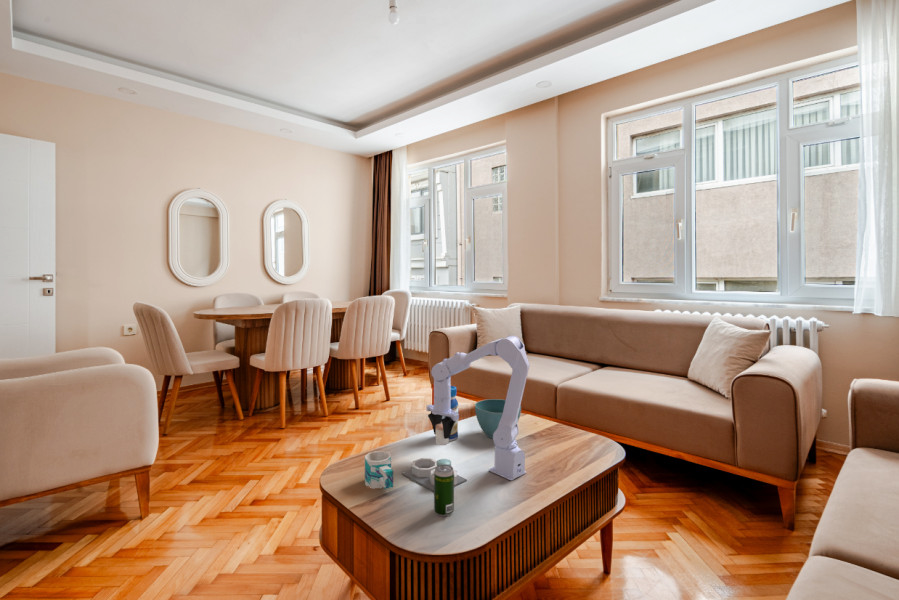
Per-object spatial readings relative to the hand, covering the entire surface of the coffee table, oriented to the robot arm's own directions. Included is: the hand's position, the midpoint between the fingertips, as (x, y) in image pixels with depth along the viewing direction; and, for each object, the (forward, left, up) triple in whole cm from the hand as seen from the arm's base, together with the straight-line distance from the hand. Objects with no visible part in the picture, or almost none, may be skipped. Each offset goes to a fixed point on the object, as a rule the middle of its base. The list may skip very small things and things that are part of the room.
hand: (442, 435), depth 148 cm
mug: (-1, +26, -9) cm, 27 cm away
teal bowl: (+1, -31, -9) cm, 32 cm away
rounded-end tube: (0, 0, -2) cm, 2 cm away
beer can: (-25, +22, -9) cm, 34 cm away
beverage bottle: (+13, -15, -9) cm, 22 cm away
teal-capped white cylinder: (-13, +11, -8) cm, 18 cm away
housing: (-8, +11, -8) cm, 16 cm away
